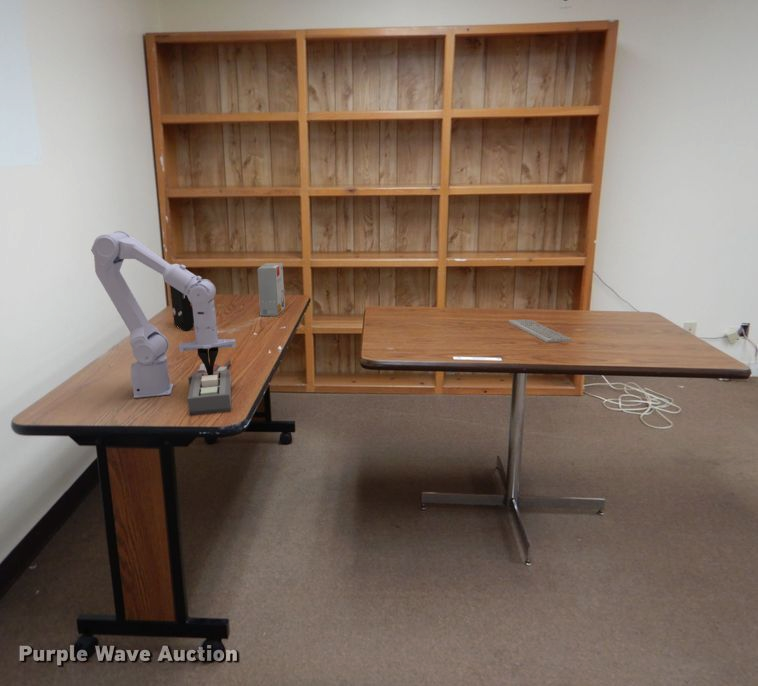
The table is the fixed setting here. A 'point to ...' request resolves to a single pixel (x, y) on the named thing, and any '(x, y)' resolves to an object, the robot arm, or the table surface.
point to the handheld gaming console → (181, 310)
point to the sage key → (209, 390)
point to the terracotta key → (213, 374)
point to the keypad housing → (213, 401)
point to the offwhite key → (209, 381)
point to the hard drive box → (271, 289)
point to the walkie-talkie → (203, 369)
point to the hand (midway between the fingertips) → (210, 374)
